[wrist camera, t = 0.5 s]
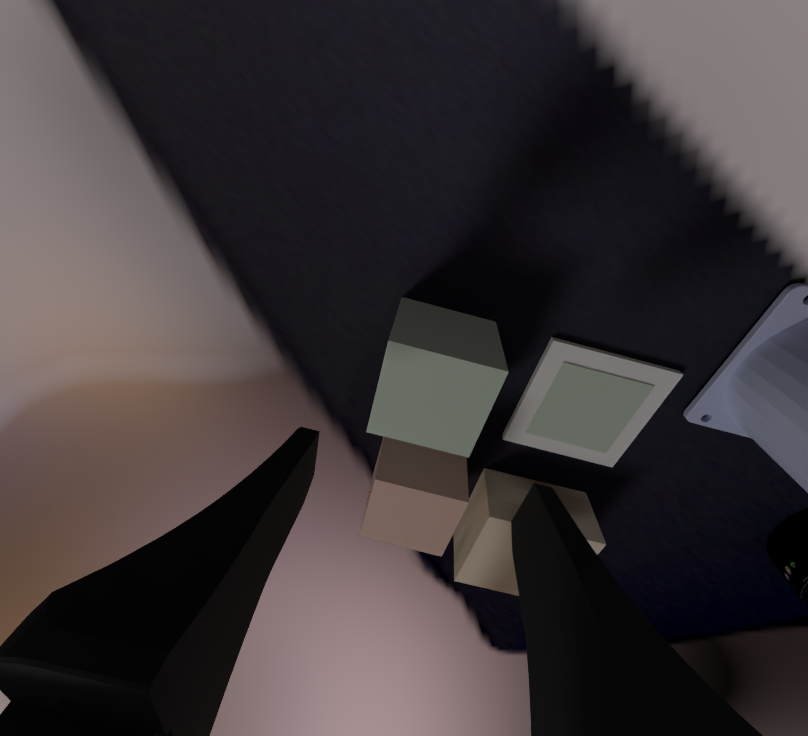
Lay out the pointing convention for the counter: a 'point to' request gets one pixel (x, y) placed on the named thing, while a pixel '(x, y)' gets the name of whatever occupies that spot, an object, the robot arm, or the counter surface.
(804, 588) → the supplement bottle
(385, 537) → the terracotta block
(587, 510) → the maple block
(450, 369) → the sage block
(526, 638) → the robot arm
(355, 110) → the counter surface
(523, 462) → the counter surface
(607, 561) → the counter surface
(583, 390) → the card
